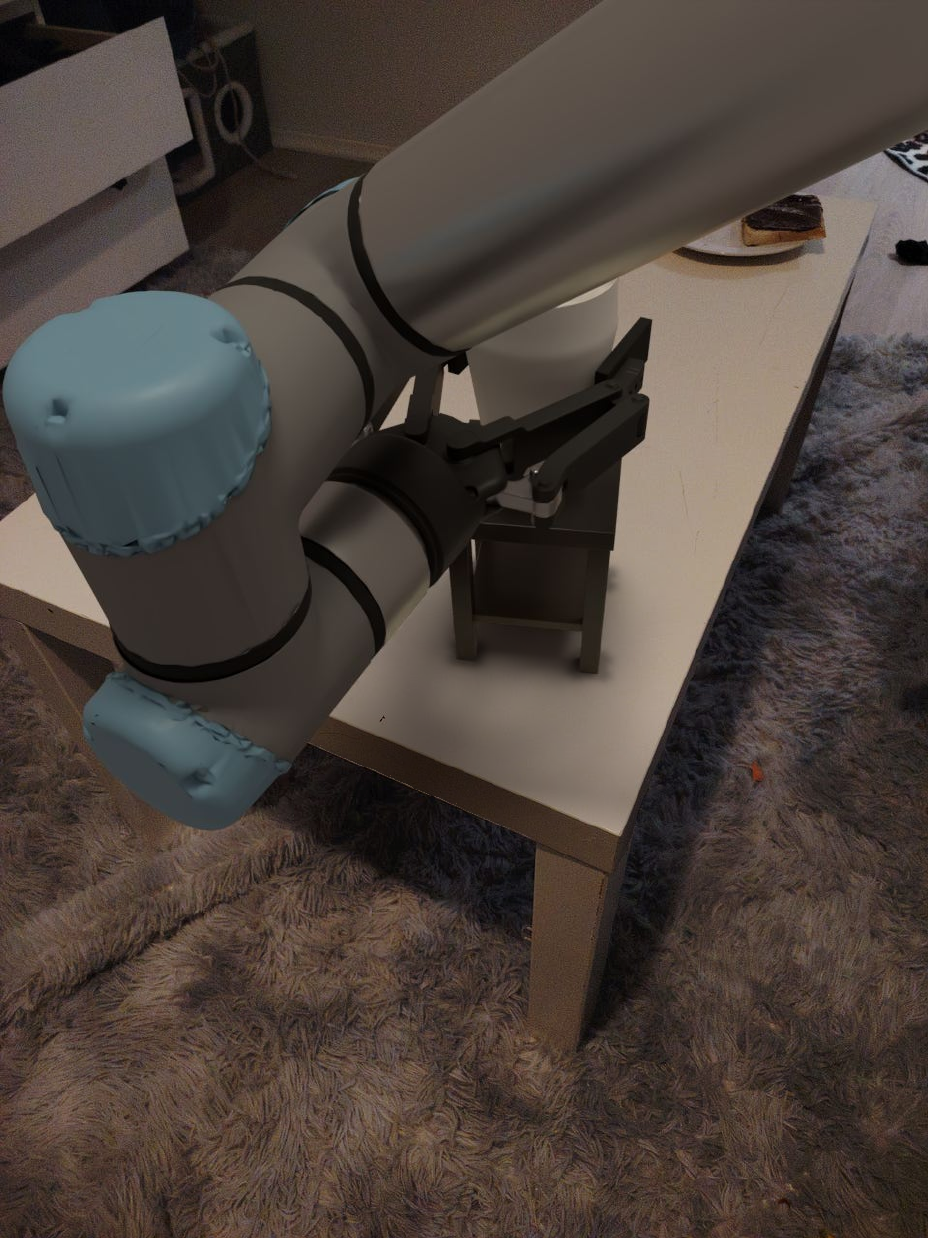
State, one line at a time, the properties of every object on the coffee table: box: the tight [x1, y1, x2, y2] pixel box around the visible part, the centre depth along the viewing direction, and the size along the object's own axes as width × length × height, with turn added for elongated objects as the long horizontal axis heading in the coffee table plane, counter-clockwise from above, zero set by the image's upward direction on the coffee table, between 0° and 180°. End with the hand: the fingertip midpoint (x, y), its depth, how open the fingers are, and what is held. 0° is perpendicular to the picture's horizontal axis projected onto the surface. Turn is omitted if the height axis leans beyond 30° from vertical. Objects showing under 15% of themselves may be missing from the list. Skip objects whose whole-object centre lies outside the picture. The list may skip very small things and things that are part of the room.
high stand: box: [448, 418, 623, 674], centre depth 64 cm, size 11×11×14 cm
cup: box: [466, 277, 620, 476], centre depth 53 cm, size 9×9×12 cm
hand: (571, 321), depth 55 cm, fingers closed on cup, 9 cm apart
